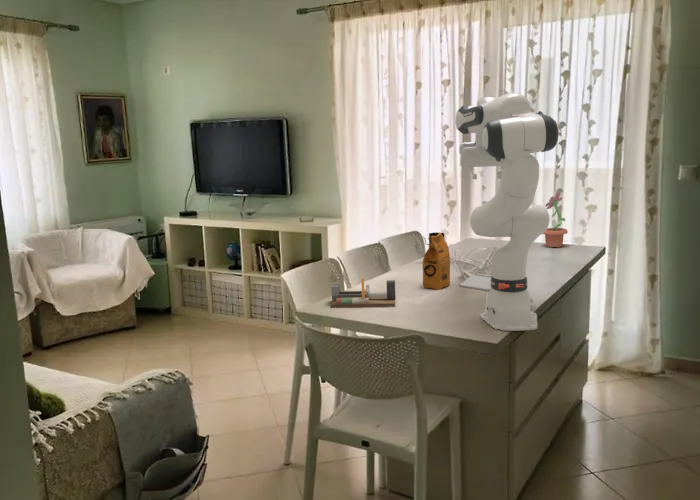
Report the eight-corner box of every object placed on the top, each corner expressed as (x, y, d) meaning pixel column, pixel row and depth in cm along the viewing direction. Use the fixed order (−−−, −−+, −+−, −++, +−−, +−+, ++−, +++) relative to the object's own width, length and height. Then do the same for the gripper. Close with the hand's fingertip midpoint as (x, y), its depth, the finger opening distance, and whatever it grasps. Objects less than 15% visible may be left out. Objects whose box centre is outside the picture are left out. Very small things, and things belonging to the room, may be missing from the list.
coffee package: (418, 288, 253) (417, 236, 249) (432, 281, 263) (431, 231, 259) (440, 290, 248) (439, 237, 244) (453, 284, 258) (453, 233, 254)
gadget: (489, 293, 243) (489, 284, 243) (458, 288, 254) (458, 279, 253) (518, 282, 259) (518, 273, 259) (487, 277, 270) (487, 269, 269)
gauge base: (395, 306, 227) (394, 288, 225) (331, 307, 229) (330, 289, 227) (395, 297, 240) (395, 279, 239) (335, 298, 242) (334, 280, 241)
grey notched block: (395, 301, 229) (394, 284, 227) (360, 301, 230) (359, 284, 228) (395, 296, 235) (395, 280, 234) (361, 297, 236) (361, 280, 235)
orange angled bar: (364, 298, 228) (363, 278, 226) (361, 298, 228) (361, 278, 226) (365, 296, 230) (364, 276, 229) (362, 296, 230) (361, 276, 229)
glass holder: (445, 265, 295) (445, 234, 293) (416, 265, 298) (416, 235, 295) (446, 261, 304) (445, 232, 301) (417, 261, 306) (416, 232, 304)
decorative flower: (550, 243, 343) (552, 190, 337) (573, 246, 332) (574, 191, 327) (535, 247, 333) (536, 192, 328) (558, 250, 323) (559, 193, 317)
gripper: (460, 142, 226) (460, 180, 228) (516, 140, 224) (515, 178, 226) (458, 142, 232) (458, 179, 234) (513, 140, 230) (513, 177, 232)
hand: (487, 178), depth 230 cm, fingers open, 8 cm apart
